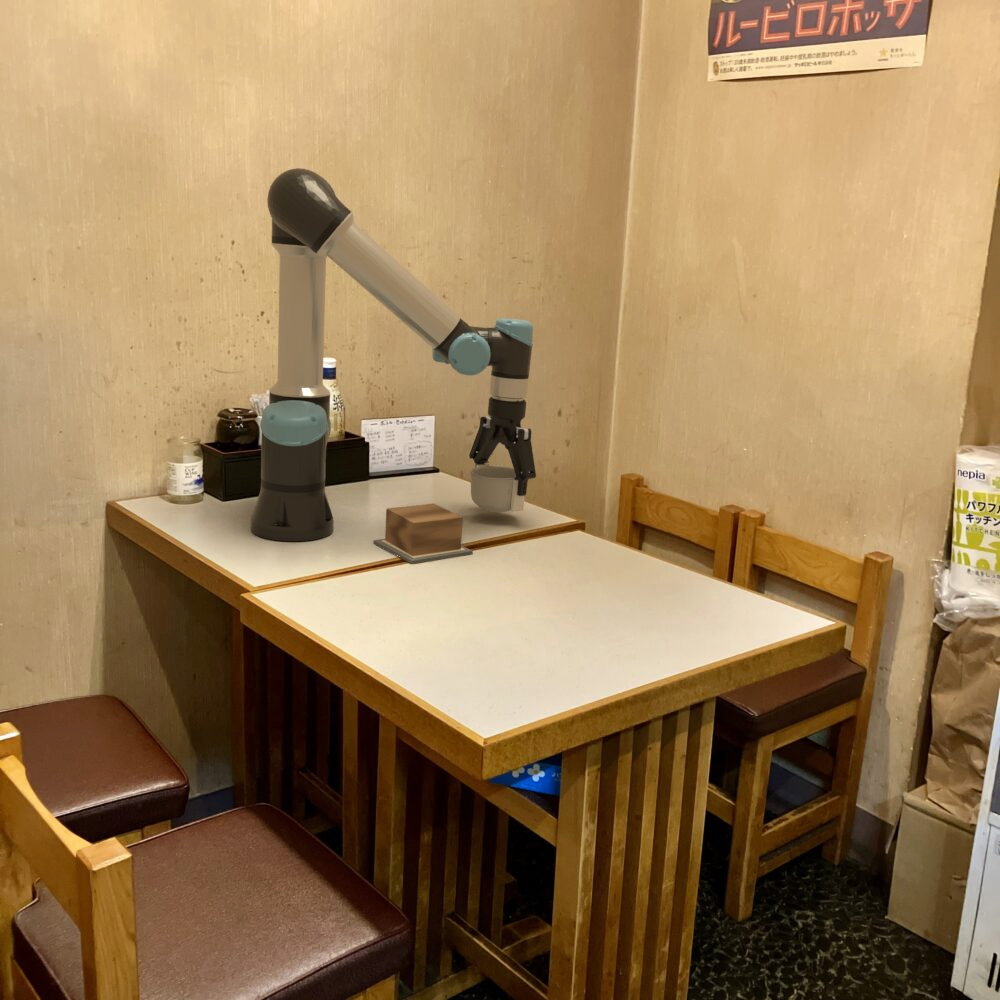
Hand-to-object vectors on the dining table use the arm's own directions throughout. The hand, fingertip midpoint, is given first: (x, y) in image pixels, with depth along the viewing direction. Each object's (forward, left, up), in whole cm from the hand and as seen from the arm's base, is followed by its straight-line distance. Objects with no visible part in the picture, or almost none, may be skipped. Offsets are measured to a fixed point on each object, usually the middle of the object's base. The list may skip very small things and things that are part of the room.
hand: (497, 502), depth 204 cm
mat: (+11, -26, -3) cm, 28 cm away
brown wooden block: (+11, -25, -2) cm, 28 cm away
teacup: (-1, 0, -1) cm, 1 cm away
